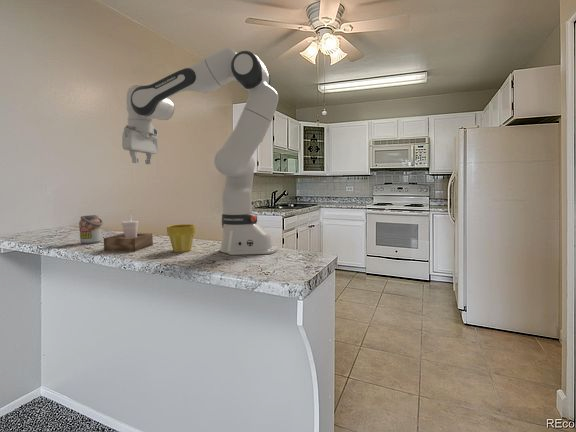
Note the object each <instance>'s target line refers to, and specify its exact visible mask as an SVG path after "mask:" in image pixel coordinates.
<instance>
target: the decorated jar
mask: <svg viewBox="0 0 576 432" xmlns="http://www.w3.org/2000/svg"><path fill="white" fill-rule="evenodd" d="M102 225H104V221H103V220H102V219H101V218H99V215H97V214H96V215H95V214H94V215H93V214H92V215H81V216H80V220H79V222H78V227H79V239H80V241H79V242H80V244H82V245H93V244H99V243H101V241H102V240H103V239H102V229H101V228H102Z"/></svg>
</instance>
